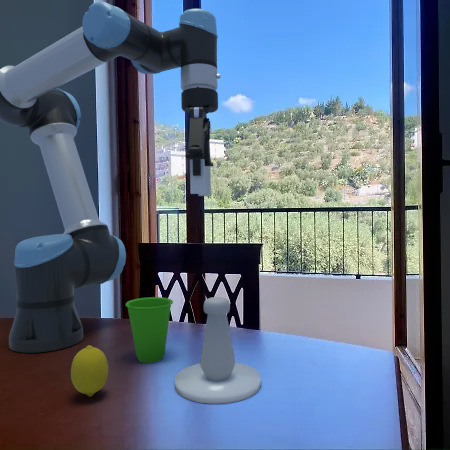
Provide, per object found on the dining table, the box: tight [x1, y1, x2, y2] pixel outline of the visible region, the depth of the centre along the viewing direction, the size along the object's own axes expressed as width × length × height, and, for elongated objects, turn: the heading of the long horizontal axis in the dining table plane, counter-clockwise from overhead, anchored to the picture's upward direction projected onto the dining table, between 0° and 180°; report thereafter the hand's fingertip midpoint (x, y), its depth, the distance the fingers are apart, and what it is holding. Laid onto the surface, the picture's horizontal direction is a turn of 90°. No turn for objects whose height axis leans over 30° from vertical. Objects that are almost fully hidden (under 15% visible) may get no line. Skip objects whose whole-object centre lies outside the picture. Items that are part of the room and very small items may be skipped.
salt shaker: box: [199, 296, 236, 382], centre depth 68 cm, size 6×6×13 cm
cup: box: [125, 296, 174, 364], centre depth 81 cm, size 9×9×11 cm
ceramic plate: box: [174, 361, 262, 405], centre depth 69 cm, size 14×14×1 cm
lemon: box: [70, 344, 109, 397], centre depth 65 cm, size 6×6×8 cm
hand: (201, 195), depth 86 cm, fingers open, 13 cm apart
